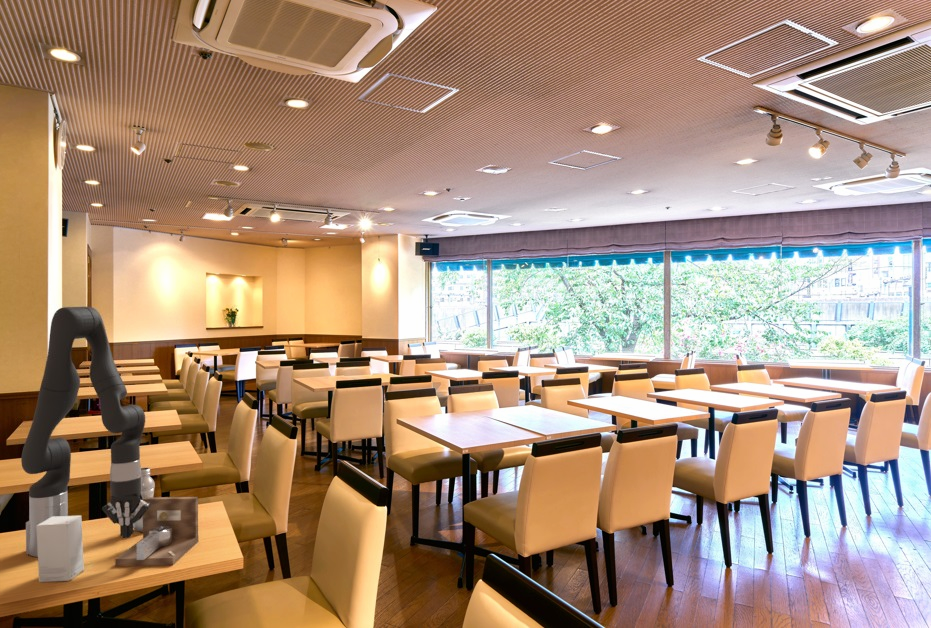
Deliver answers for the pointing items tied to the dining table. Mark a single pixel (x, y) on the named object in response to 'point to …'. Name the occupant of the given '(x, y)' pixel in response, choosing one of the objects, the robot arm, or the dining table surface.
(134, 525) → the plastic bottle
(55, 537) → the skincare box
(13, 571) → the dining table surface
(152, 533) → the lever
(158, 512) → the stand
